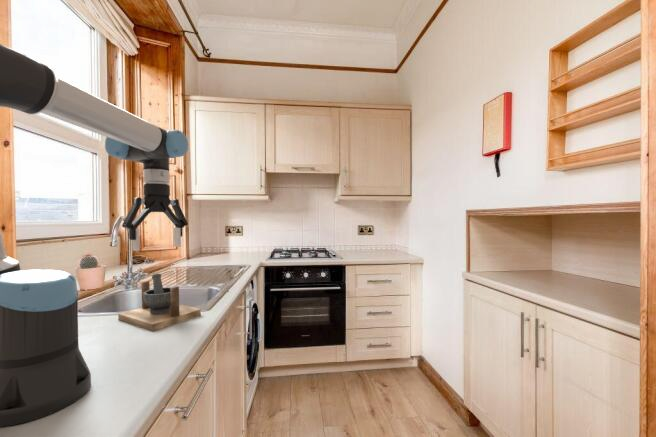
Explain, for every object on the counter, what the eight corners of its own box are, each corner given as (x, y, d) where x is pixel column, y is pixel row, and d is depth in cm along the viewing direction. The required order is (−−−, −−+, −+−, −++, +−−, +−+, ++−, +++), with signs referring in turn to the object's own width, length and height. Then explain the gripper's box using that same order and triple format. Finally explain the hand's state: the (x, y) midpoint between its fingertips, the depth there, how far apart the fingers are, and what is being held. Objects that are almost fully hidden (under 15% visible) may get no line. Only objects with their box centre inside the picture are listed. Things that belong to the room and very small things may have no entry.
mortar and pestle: (180, 312, 100) (179, 275, 100) (147, 319, 94) (146, 280, 94) (171, 304, 108) (170, 270, 108) (140, 310, 102) (139, 274, 102)
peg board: (152, 331, 89) (151, 293, 89) (118, 319, 100) (117, 286, 99) (200, 315, 103) (199, 282, 103) (166, 306, 113) (165, 276, 113)
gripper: (120, 179, 88) (122, 253, 88) (197, 186, 109) (198, 245, 109) (108, 181, 92) (109, 251, 92) (184, 187, 113) (185, 244, 113)
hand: (157, 248), depth 101 cm, fingers open, 13 cm apart
